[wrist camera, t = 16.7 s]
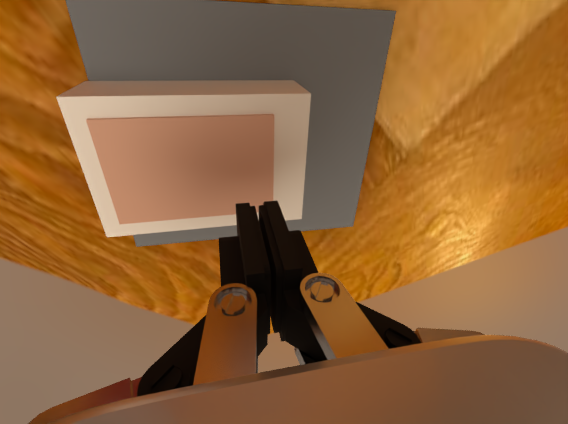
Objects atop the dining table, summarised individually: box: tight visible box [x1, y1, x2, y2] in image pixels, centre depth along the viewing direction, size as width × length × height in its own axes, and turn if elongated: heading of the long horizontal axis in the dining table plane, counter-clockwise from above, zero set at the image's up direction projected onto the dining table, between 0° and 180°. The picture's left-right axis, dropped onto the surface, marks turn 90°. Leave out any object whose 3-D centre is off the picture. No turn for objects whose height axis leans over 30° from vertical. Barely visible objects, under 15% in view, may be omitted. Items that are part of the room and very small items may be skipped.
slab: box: [56, 80, 311, 237], centre depth 18 cm, size 4×8×12 cm
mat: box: [66, 0, 396, 247], centre depth 21 cm, size 18×16×1 cm
